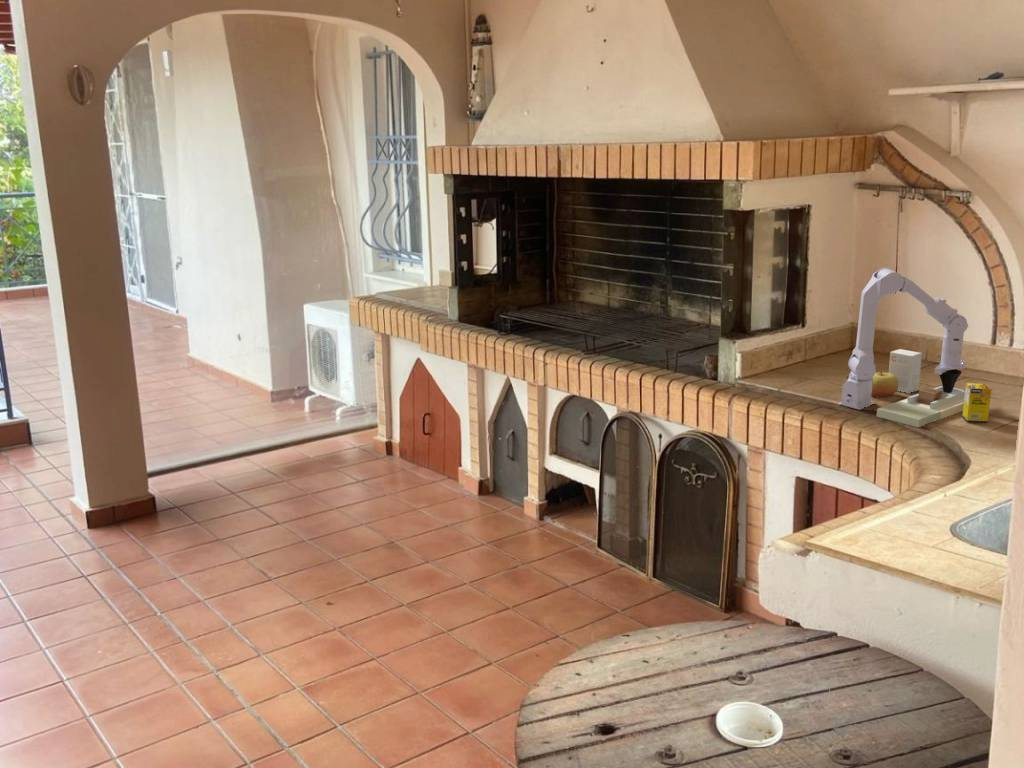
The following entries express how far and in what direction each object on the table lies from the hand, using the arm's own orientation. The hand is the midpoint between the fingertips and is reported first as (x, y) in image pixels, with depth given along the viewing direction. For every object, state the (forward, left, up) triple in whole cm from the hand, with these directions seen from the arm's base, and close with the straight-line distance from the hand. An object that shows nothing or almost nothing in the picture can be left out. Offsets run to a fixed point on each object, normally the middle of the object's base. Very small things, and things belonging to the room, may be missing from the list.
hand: (947, 392), depth 308 cm
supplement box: (-9, -14, -4) cm, 17 cm away
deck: (-12, 0, -4) cm, 12 cm away
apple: (-7, +19, -4) cm, 21 cm away
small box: (+4, +18, -4) cm, 19 cm away
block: (-10, 0, -2) cm, 10 cm away
